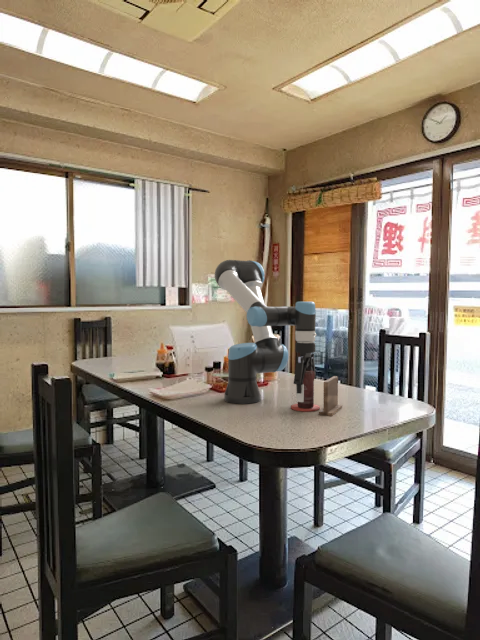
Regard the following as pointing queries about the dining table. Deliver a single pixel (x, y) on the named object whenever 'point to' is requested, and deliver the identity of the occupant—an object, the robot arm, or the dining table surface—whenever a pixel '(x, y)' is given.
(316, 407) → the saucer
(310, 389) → the can
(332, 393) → the screen
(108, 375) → the dining table surface
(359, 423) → the dining table surface
